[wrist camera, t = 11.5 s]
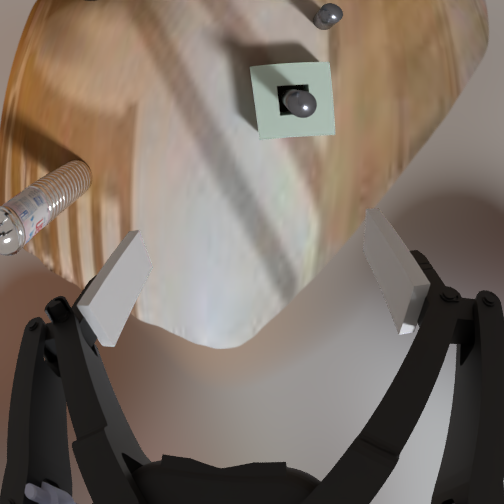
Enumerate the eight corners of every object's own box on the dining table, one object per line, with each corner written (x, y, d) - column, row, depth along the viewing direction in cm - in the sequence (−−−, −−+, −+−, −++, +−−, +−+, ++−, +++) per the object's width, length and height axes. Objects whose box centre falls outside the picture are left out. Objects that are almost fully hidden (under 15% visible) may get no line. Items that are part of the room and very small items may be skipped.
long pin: (279, 89, 36) (286, 91, 24) (299, 88, 35) (315, 90, 24) (282, 108, 37) (289, 118, 25) (301, 106, 37) (317, 117, 25)
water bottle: (72, 196, 46) (-14, 275, 25) (60, 164, 42) (-36, 232, 21) (98, 188, 45) (8, 271, 24) (86, 153, 41) (-17, 221, 20)
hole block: (251, 69, 34) (249, 66, 30) (322, 64, 33) (329, 62, 29) (260, 133, 39) (259, 139, 35) (327, 129, 38) (335, 134, 34)
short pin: (312, 13, 29) (319, 2, 24) (331, 13, 28) (341, 3, 23) (314, 29, 30) (322, 21, 25) (333, 30, 30) (344, 22, 25)
